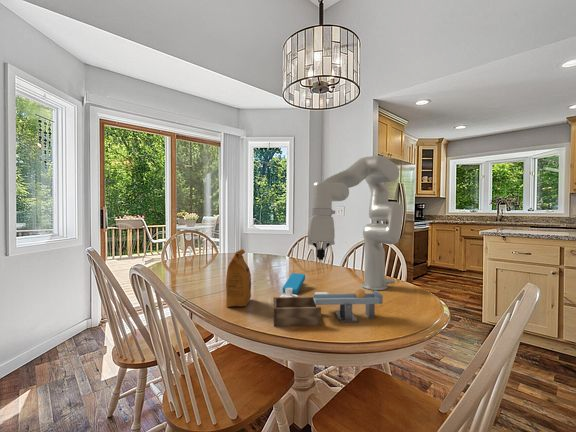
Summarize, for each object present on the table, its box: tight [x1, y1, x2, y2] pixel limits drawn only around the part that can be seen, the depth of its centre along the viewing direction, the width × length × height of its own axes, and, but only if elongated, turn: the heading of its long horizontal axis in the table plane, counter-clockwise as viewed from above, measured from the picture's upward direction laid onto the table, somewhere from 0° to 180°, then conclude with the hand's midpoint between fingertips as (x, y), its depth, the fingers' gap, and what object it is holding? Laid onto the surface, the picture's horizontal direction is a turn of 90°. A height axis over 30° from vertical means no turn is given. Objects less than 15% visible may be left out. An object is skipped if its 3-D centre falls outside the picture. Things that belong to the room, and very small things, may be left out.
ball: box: [355, 289, 367, 298], centre depth 105 cm, size 4×4×4 cm
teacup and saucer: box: [279, 288, 299, 297], centre depth 128 cm, size 9×8×4 cm
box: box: [272, 296, 322, 327], centre depth 103 cm, size 16×12×6 cm
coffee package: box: [225, 248, 252, 308], centre depth 119 cm, size 10×12×22 cm
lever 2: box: [312, 290, 384, 306], centre depth 108 cm, size 24×12×3 cm, turn 93°
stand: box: [334, 304, 376, 323], centre depth 105 cm, size 13×10×6 cm
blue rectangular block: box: [281, 272, 306, 295], centre depth 141 cm, size 7×7×18 cm
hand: (320, 259), depth 114 cm, fingers closed
